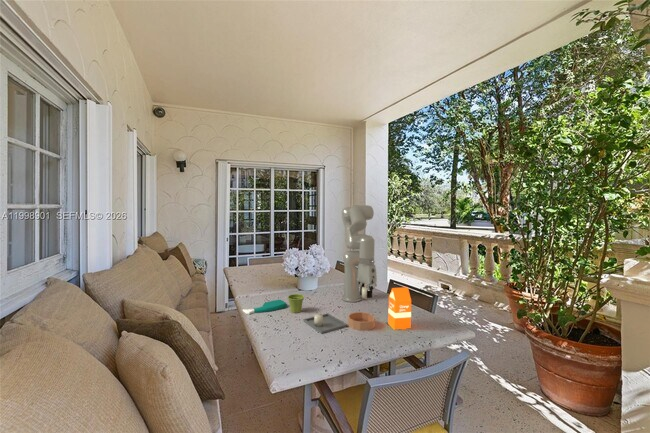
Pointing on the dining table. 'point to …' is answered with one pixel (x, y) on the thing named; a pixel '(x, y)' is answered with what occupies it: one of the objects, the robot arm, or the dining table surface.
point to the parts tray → (326, 323)
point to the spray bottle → (267, 307)
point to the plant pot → (295, 302)
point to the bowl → (361, 321)
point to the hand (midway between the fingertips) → (366, 296)
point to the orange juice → (399, 308)
